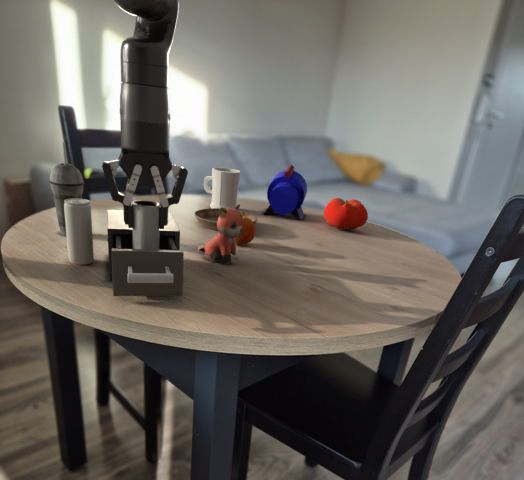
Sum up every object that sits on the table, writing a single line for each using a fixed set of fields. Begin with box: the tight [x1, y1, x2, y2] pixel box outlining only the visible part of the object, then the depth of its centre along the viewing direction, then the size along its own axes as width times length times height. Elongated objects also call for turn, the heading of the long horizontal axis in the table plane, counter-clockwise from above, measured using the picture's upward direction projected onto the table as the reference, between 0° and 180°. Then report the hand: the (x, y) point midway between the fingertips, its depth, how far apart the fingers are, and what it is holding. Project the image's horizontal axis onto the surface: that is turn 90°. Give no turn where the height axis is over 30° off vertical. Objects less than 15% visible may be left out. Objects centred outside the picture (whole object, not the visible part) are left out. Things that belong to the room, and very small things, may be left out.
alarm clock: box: [263, 164, 308, 221], centre depth 153 cm, size 12×12×15 cm
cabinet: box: [106, 209, 181, 282], centre depth 95 cm, size 15×13×10 cm
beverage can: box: [64, 198, 95, 266], centre depth 94 cm, size 5×5×12 cm
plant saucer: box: [193, 207, 258, 231], centre depth 135 cm, size 18×18×3 cm
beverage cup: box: [49, 141, 85, 237], centre depth 109 cm, size 7×7×20 cm
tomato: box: [323, 197, 369, 231], centre depth 146 cm, size 14×13×9 cm
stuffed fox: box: [197, 204, 243, 265], centre depth 106 cm, size 8×11×12 cm
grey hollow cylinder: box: [131, 200, 160, 250], centre depth 83 cm, size 4×4×10 cm
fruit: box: [234, 211, 256, 246], centre depth 119 cm, size 7×7×8 cm
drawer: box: [112, 234, 185, 297], centre depth 84 cm, size 19×12×8 cm, turn 16°
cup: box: [203, 167, 241, 209], centre depth 151 cm, size 10×9×12 cm
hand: (145, 226), depth 83 cm, fingers closed on grey hollow cylinder, 4 cm apart
